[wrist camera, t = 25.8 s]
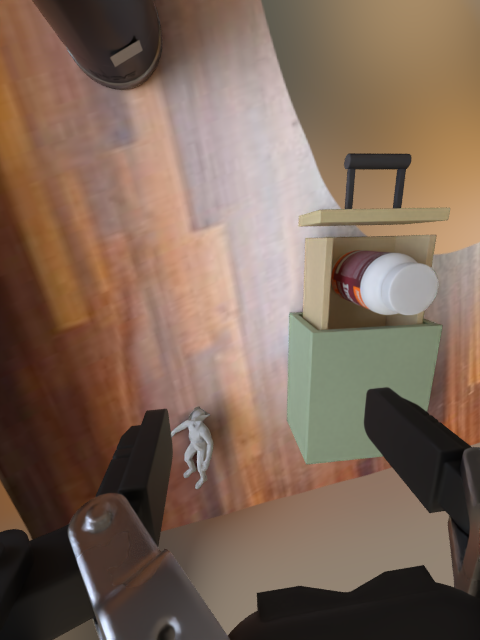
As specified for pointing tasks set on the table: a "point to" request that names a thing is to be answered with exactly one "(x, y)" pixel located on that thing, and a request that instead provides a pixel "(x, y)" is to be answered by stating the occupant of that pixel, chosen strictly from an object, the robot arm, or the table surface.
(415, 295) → the pill bottle
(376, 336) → the cabinet
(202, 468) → the soldier figure
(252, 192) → the table surface
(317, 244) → the drawer
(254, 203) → the table surface
